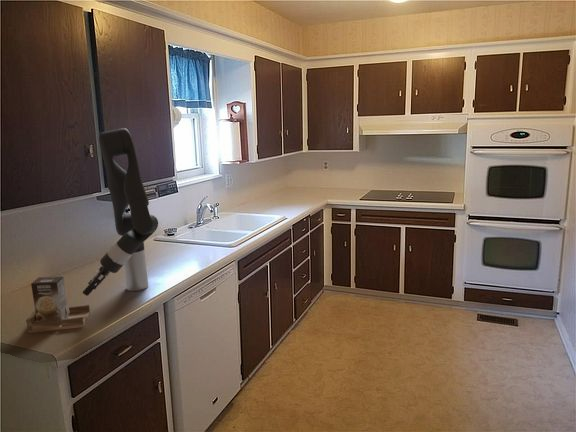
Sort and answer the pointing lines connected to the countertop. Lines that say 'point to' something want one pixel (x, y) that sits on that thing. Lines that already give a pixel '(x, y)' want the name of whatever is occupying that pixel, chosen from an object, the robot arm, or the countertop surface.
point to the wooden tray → (74, 320)
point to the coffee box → (49, 298)
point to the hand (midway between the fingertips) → (87, 289)
